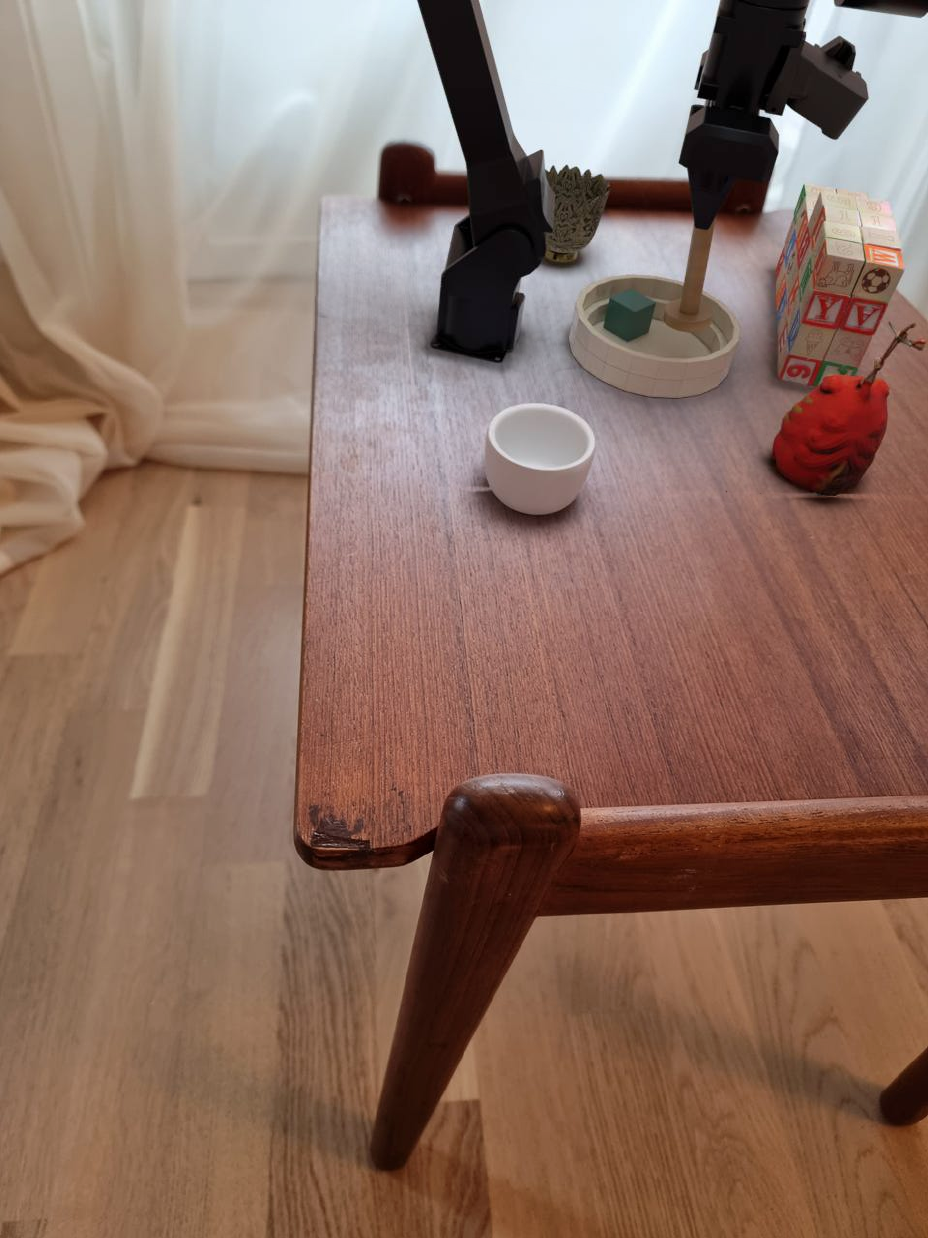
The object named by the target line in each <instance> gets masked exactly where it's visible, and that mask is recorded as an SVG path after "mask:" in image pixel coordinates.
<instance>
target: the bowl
mask: <svg viewBox="0 0 928 1238" xmlns="http://www.w3.org/2000/svg"><path fill="white" fill-rule="evenodd" d="M683 285H684V281H680V280H677V279H671V278H667V277H662V276H658V275H650V274H649V275H648V274H647V275H646V274H634V273H633V274H622V275H612V276H608V277H605V278H602V279H598V280H596V281H593V282H591V283H589V284H588V285H587V286H586V287H585V288H583V289H582V290H581V291H580V292H579V293H578V297H577V299H576V302H575V303H574V304H575V305H574V309H573V315H572V320H571V326H570V330H569V335H568V342H569V347H570V351H571V354H572V356H573V357H574V358H575V359H576V361H577V362H578V363H579V365H580V366H581V367H582V368H583V369H584V370H585V371H587V372H588V373H590V374H591V375H593V377H595V378H597V379H598V380H600V381H601V382H603V383H606V384H608V385H610V386H613V387H615V388H617V389H619V390H622V391H625V392H628V393H633V394H637V395H641V396H645V397H652V398H666V399H669V398H670V399H681V398H687V397H688V398H689V397H694V396H700V395H702V394H704V393H707V392H709V391H712V390H713V389H716V388H717V387H718V386H719V385H720V384H721V383H722V382H723V381H724V380H725V378H727V376H728V374H729V371H730V368H731V365H732V362H733V360H734V357H735V354H736V351H737V348H738V345H739V342H740V335H741V326H740V323H739V321H738V319H737V317H736V315H735V313H734V312H733V311H732V310H731V309H730V308H729V306H728V305H726V304H725V303H724V302H723V301H721V300H720V299H718V298H717V297H716V296H713V295H712V294H710V293H708V292H707V291H705V290H703V291H702V296H701V301H703V302H705V303H707V304H708V305H709V306H711V308H712V309H713V317H712V322H711V325H710V326H709V328H707V329H706V330H703V331H700V332H682V331H678V330H675V329H672V328H670V327H669V326H667V325H666V324H665V322H664V319H663V317H664V311H665V306H666V305H667V303H669V302H670V301H672V300H675V299H681V297H682V291H683ZM629 289H633V290H635V291H637V292H638V293H640V294H642V295H644V296H645V297H647V298H649V299H651V300H652V301H654V302H656V306H655V309H654V313H653V317H652V321H651V325H650V329H649V332H648V333H646V334H644V335H642V336H640V337H638V338H635V339H633V340H631V341H629V342H626V341H625V340H623V339H621V338H620V337H618V336H616V335H615V334H613V333H611V332H610V331H608V330H606V329H605V328H603V326H604V321H605V317H606V312H607V308H608V303H609V299H610V297H613V296H615V295H617V294H619V293H622V292H624V291H626V290H629Z"/></svg>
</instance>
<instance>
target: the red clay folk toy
mask: <svg viewBox="0 0 928 1238" xmlns="http://www.w3.org/2000/svg"><path fill="white" fill-rule="evenodd" d="M887 322H888V325H889V327H890V329H891V330H892V332H893V333H894V334H895V336H894V338H893V339H892V341H891V343H890V344H889V346H888V347H887V349H886V350H885V352H884V353H883V355H882V356H879V355H878V356H876V357H875V358H874V359H873V360H874V362H873V369H871V371H870V372H869V373H868V375H866V376H861V375H858V376H857V375H856V376H848V375H840V374H830V375H827V376H825V377H824V379H823V381H822V383H821V384H819V385H818V386H817V387H816V386H815V388H813V389H812V390H811V391H809V392H808V393H807V394H806V395H805V396H804V397H803V398H802V399H801V400H800V401H798V402H796V403H794V405H793V406H792V407H791V409H789V410H787V412H785V414H784V416H783V417H782V421H781V425H780V430H778V433H777V434H776V435H775V436H774V439H773V442H772V449H771V450H772V451H771V459H772V461H773V462H775V465H776V466H775V467H776V469H777V471H778V472H779V474H781V475H782V476H783V477H784V478H785V479H786V480H788V481H789V482H791V483H792V484H793V485H795V486H798V487H799V488H800V489H804V490H806V491H811V492H813V493H815V494H816V495H819V496H824V497H836V496H838V495H840V494H842V492H844V491H845V489H847V488H850V487H851V486H853V485H854V484H856V483H857V482H859V481H860V480H861V479H862V478H863V476H864V475H865V474H866V472H867V471H868V469H869V468H870V467H871V465H872V464H873V462H874V460H875V457H876V454H877V452H878V450H879V449H880V447H881V445H882V443H883V439H884V438H885V434H886V432H887V428H888V419H889V412H888V397H889V396H890V386H889V385H888V383H887V382H886V381H885V380H884V379H883V378H876V376H877V375H878V372H879V371H881V370H882V368H883V367H884V365H885V361H886V360H887V359H888V358H889V356H890V355H891V354H892V352H893V351H894V350H895V349H896V347H897V346H898V345H899V344H901V343H902V344H904V345H907V346H908V347H910V348H913V349H915V350H917V351H919V352H922V351H923V350H924V349H925V347H926V345H927V342H926V341H927V338H926V337H924V338H922V339H918V340H916V339H913V338H909V337H908V335H909V333H908V331H909V330H911V329H914V328H916V327H917V325H916V323H915V322H912V323H910V324H908V325H907V326H906V327H904V328H903V329H901V330H897V329H896V327H895V326H894V324H893V322H892V321H891V320H889V321H887Z"/></svg>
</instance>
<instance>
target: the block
mask: <svg viewBox="0 0 928 1238" xmlns="http://www.w3.org/2000/svg"><path fill="white" fill-rule="evenodd" d="M655 306H656V302H654V301H652V300H651V299H649V298H647V297H645V296H644V295H642V294H640V293H638V292H637V291H635V290H633V289H629V290H626V291H624V292H622V293H619V294H617V295H615V296H613V297H610V299H609V303H608V308H607V312H606V317H605V321H604V326H603V328H605V329H606V330H608V331H610V332H611V333H613V334H615V335H616V336H618V337H620V338H621V339H623V340H625V341H626V342H629V341H631V340H633V339H635V338H638V337H640V336H642V335H644V334H646V333H648V332H649V329H650V325H651V321H652V317H653V313H654V309H655Z"/></svg>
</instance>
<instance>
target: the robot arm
mask: <svg viewBox="0 0 928 1238" xmlns="http://www.w3.org/2000/svg"><path fill="white" fill-rule="evenodd" d="M810 1H811V0H719V4H718V8H717V12H716V16H715V22H714V26H713V30H712V33H711V37H710V42H709V45H708V48H707V50H705V51H703V53H702V54H701V58H700V62H699V66H698V69H697V74H696V78H695V82H694V88H693V90H695V91H697V93H696V98H697V99H701V100H704V103H703V104H700V103H699V104H696V103H695V104H692V105H690V109H689V110H690V111H689V115H688V120H687V124H686V127H685V133H684V136H683V141H682V145H681V149H680V153H679V157H678V164H679V166H682V167H684V168H685V169H686V171H687V177H688V186H689V192H690V193H689V194H690V202H691V210H692V217H693V226H695V228H697V229H702V230H708V229H709V228H710V226H711V224H712V223H713V221H714V219H715V217H716V218H717V215H718V214H719V212H720V210H721V208H722V206H723V204H724V203H725V201H726V199H727V197H728V195H729V193H730V192H731V190H732V188H733V187H734V185H735V183H736V181H737V180H738V179H740V180H746V181H752V182H757V183H766V182H770V181H771V178H772V175H773V172H774V168H775V165H776V162H777V159H778V156H779V153H780V152H779V151H780V133H779V131H778V130H777V128H776V126H775V124H774V122H773V120H772V119H771V117H768V116H763V115H760V113H761V111H764V113H765V114H769V115H772V116H773V115H774V116H779V117H783V115H784V112H785V109H786V106H787V107H788V108H789V109H790V110H792V111H793V112H794V113H796V114H798V115H799V116H801V117H802V118H804V119H806V120H807V121H808V122H810V123H811V124H813V125H814V126H816V127H817V128H819V129H820V130H821V131H820V132H821V134H822V135H824V136H825V137H827V138H829V139H831V140H833V141H837V140H839V139H840V137H841V136H842V135H843V133H844V132H845V131H846V129H847V128H848V127H849V125H850V124H851V122H852V121H853V120H854V119H855V118H856V116H857V115H858V113H859V112H860V111H861V109H863V107H864V105H865V104H866V103H867V101H868V100H869V99H870V97H869V90H868V85H867V82H866V80H865V79H864V78H863V77H862V73H861V72H859V71H858V70H857V71H854V70H853V69H854V65H855V60H856V56H857V49H856V46H855V44H853V43H852V42H850V41H849V40H847V39H846V38H844V37H843V36H841V35H838V36H836V37H834V38H833V39H831V40H830V41H829V42H826V43H825V44H824V45H822V46H821V45H819V44H818V43H814V44H811V43H810V42H808V41H807V31H804V30H805V28H806V24H807V18H806V15H807V11H808V8H809V5H810ZM416 3H417V5H418V8H419V13H420V15H421V19H422V22H423V25H424V28H425V32H426V35H427V38H428V42H429V46H430V48H431V52H432V55H433V59H434V62H435V66H436V68H437V72H438V75H439V78H440V79H439V80H440V82H441V85H442V89H443V92H444V96H445V99H446V102H447V105H448V108H449V112H450V115H451V118H452V122H453V126H454V129H455V132H456V136H457V139H458V142H459V145H460V150H461V153H462V155H463V158H464V163H465V169H466V182H467V199H468V214H467V215H466V216H464V217H463V218H462V219H461V220H459V221H457V223H455V224H454V226H453V230H452V235H451V239H450V243H449V249H448V253H447V257H446V262H445V266H444V269H443V271H442V273H441V275H440V283H439V296H438V310H437V320H436V332H435V334H434V336H433V337H432V339H431V341H430V343H429V347H430V348H432V349H434V350H435V349H436V350H439V351H443V352H447V353H452V354H456V355H461V356H465V357H468V358H473V359H478V360H483V361H486V362H491V363H495V364H501V363H503V362H504V360H505V358H506V356H507V354H508V352H511V351H513V350H514V348H515V346H516V345H517V342H518V340H519V337H520V332H521V327H522V321H523V320H522V319H523V313H524V308H525V301H526V296H525V294H524V292H520V289H521V283H522V278H524V277H526V276H529V275H531V274H532V273H533V272H534V271H536V270H537V269H538V268H539V267H540V265H541V264H542V262H543V261H544V260H545V259H544V257H545V255H546V249H547V237H548V233H552V232H553V223H554V209H555V193H554V192H553V190H552V189H551V188H550V186H549V184H548V181H547V178H546V173H545V169H546V163H545V151H544V149H539V150H536V151H534V152H533V153H531V154H529V155H528V154H527V153H526V152H525V150H524V149H523V147H522V146H521V144H520V142H519V141H518V138H517V136H516V135H515V132H514V130H513V126H512V121H511V118H510V114H509V110H508V106H507V103H506V98H505V95H504V90H503V87H502V83H501V79H500V76H499V72H498V67H497V64H496V61H495V56H494V53H493V49H492V45H491V41H490V38H489V33H488V29H487V26H486V23H485V18H484V13H483V10H482V7H481V3H480V0H416ZM833 4H834V6H835V7H837V8H845V9H851V10H859V11H867V12H874V13H878V14H879V13H880V14H888V15H895V16H902V17H909V18H917V19H922V18H923V17H925V16H926V15H927V14H928V0H833Z"/></svg>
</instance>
